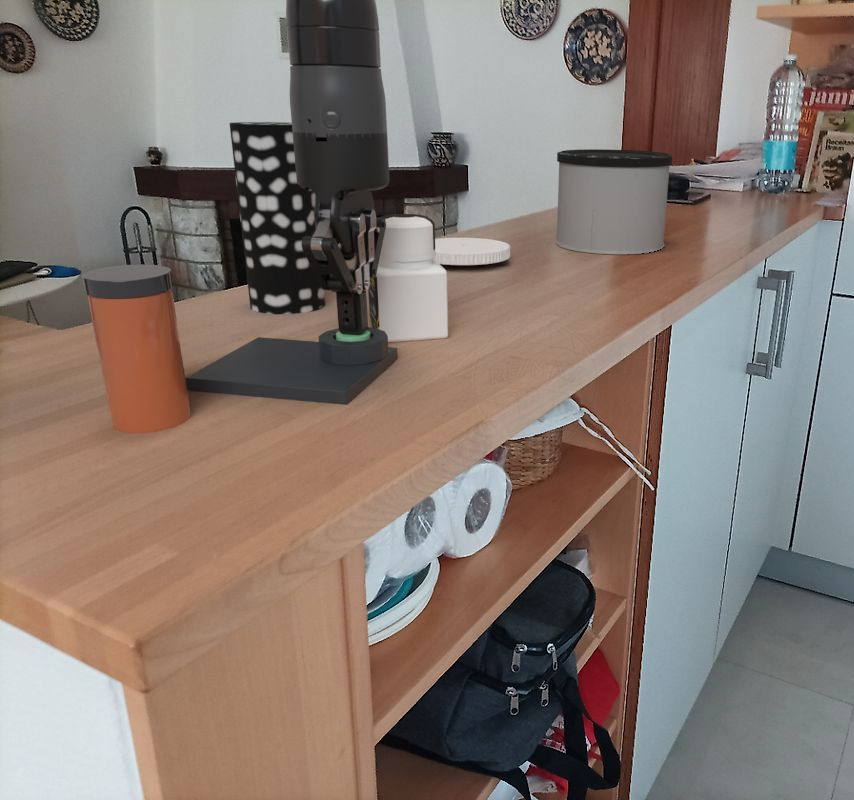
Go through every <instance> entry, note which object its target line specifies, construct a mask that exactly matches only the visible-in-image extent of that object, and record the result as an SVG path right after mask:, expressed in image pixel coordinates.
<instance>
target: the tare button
mask: <svg viewBox="0 0 854 800" xmlns="http://www.w3.org/2000/svg"><path fill="white" fill-rule="evenodd" d="M368 339H371V338H370V332H369V331H368V330H366V331H365V332H363V333H362V334H360V335H345V334H342V333H340V331H338V332H337V333H336V340H338V341H346V342H354V341H364V340H368Z"/></svg>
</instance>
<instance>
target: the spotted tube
mask: <svg viewBox="0 0 854 800" xmlns="http://www.w3.org/2000/svg"><path fill="white" fill-rule="evenodd" d="M229 133H230V140H231V149H232V158H233V166H234V175H235V183H236V193H237V200H238V201H237V203H238V212H239V219H240V228H241V237H242V246H243V253H244V254H243V256H244V264H245V271H246V272H245V273H246V281H247V289H248V298H249V306H250V310H252V311H254V312H257V313H259V314H267V315H295V314H304V313H308V312H314V311H317V310H319V309H321V308H323V307H324V306H325V305H326V301H325V300H326V299H325V298H326V297H325V290H323V289H322V287H321V285H320V283H319V281H318V279H317V277H316V275H315V273H314V271H313V269H312V267H311V265H310V263H309V261H308V259H307V257H306V255H305V253H304V251H303V249H302V239H303V237H305V236H306V237H313V236H314V234H315V231H316V225H315V219H314V209H315V198H316V195H315V193H314V191H312V190H311V189H310V190H308V189H304V188H302V187H300V186H299V185H298V183H297V178H296V166H295V155H294V144H293V132H292V122H280V121H279V122H278V121H248V122H246V121H242V122H241V121H240V122H235V121H234V122H229Z"/></svg>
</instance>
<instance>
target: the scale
mask: <svg viewBox="0 0 854 800" xmlns="http://www.w3.org/2000/svg"><path fill="white" fill-rule="evenodd" d="M367 330H368V331H369V332H370V338H371V339H368V340H364V341H354V342H346V341H338V340H336V333H337V332H338V331H339V327H338V328H334V329H329V330H326V331H324V332H323V333H321V334H319V335H318V341H313V340H299V339H287V338H286V339H285V338H274V337H273V338H272V337H261V336H259V337H256V338H254V339H253V340H251V341H249V342H247V343H245V344H243V345H241V346H240V347H238V348H236V349H234V350H233V351H231V352H229V353H227V354H224V355H223V356H222V357H220V358H218V359H217V360H215V361H213V362H211V363H209V364H207V365H206V366H204V367H202V368H201V369H199V370H197V371H195V372H193V373H191V374H190V375H187V376H185V378H186V385H187V391H188V392H197V393H209V394H222V395H230V396H231V395H233V396H242V397H243V396H244V397H252V398H263V399H265V398H266V399H277V400H288V401H301V402H311V403H322V404H332V405H342V406H343V405H345V406H347V405H349V404H350V403H351V402H352V401H353V400H354V399H356V398H357V397H358V396H359V395H360V394H361V393H362V392H364V390H366V389H367V388H368V387H369V386H370V385H371V384H373V383H374V381H376V380H377V379H378V378H379V377H380V376H381V375H382V374H383V373H385V372H386V371H387V370H388V369H389V368H390V367H391V366H392V365H393V364H394V363H395V362H396V361H398V359H399V357H398V348H397V347H393V346H391V347H390V346H389V342H388V336H387V334H386V333H385V331H382V330H379V329H376V328H372V327H370V326H368V329H367Z"/></svg>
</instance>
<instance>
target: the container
mask: <svg viewBox="0 0 854 800" xmlns="http://www.w3.org/2000/svg"><path fill="white" fill-rule="evenodd" d="M556 153H557V154H556V162H557V163H558V185H557V186H558V187H557V188H558V189H557V190H558V191H557V192H558V193H557V222H556V224H557V226H556V239H555V244H556V245H557V247H560V248H562V249H565V250H569V251H574V252H579V253H585V254H586V253H587V254H595V255H596V254H597V255H617V256H619V255H621V256H624V255H625V256H628V254H629V255H642V253H644V254H650V253H649V252H651V253H655V252H654V251H656V252H658V251H657V250H659V251H661V250H660V249H662V248H663V247H664V248H665V240H664V239H665V231H666V230H665V229H666V217H667V216H666V215H667V204H668V203H667V202H668V191H669V190H668V189H669V181H670V178H669V177H670V167H671V165H673V157H674V155H672V154H670V153H667V152H658V151H648V150H631V149H601V148H599V149H597V148H596V149H594V148H592V149H566V150H560V151H557V152H556ZM664 248H663V249H664ZM663 249H662V250H663Z"/></svg>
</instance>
